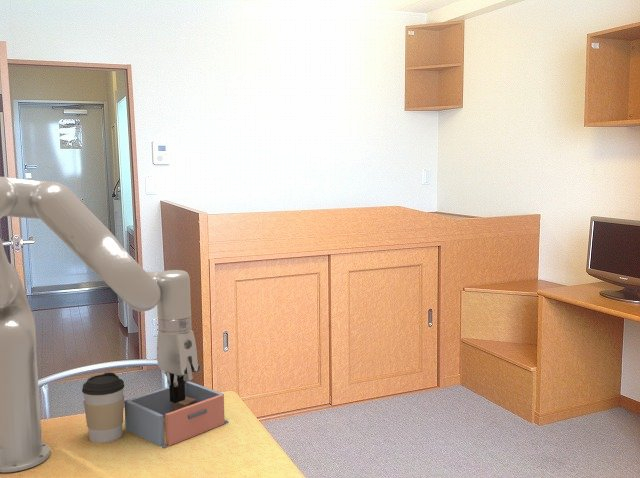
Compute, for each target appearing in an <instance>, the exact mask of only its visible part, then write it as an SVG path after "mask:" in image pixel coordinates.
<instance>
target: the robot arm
mask: <svg viewBox="0 0 640 478" xmlns="http://www.w3.org/2000/svg"><path fill="white" fill-rule="evenodd" d="M3 217H11V218H13V217H14V218H22V219H23V218H25V219H36V220H37V219H39V220H41V221H42V222H43V223H44V224H45V225H46V227H48V229H50V230H51V231H52V232H53V233H54V234H55V235H56V236H57V237H58V238H59V239H60V240H61V241H62V242H63V243H64V244H65V245H66V246H67V248H69V249H70V250H71V251H72V252H73V253H74V255H76V256H77V257H78V258H79V259H80V261H82V262H83V263H84V265H85V266H87V267H88V268H89V269H91V270H92V271H93V272H94V273H95V274H96V275H97V276H98V277H99V278H101V280H102V281H103V282H104V283H105V284H106V285H107V286H108V287H109V288H110V289H111V290H112V291H113V292H114V293H115V294H116V295H117V296H118V297H119V298H120V299H121V300H122V301H123V302H125V304H127V305H128V306H129V308H131V309H132V310H134V311H136V312H147V311H150V310H152V309H154V308H156V309H157V311H156V312H157V329H158V330H157V340H156V341H157V342H156V343H157V344H156V360H157V361H156V362H157V367H158V368H159V369H160V370H161V373H163V374H164V375H165V376H166V379H167V384H168V387H169V391H170V402H173V403H177V402H180V401H183V400H185V384H186V381H190V382H191V381H192V380H193V379H194V377H193V373H197V372H198V370H199V366H198V363H199V362H198V361H199V360H198V352H197V351H198V350H197V344H196V342H197V341H196V338H195V333H194V331H193V330H192V305H191V303H192V302H191V279H190V275H189V273H188V272H187V271H185V270H181V269H168V270H163V271H146V270H145V269H144V268H143V267H142V266H141V265H140V264H139V263H138V262H137V261H136V260H135V259H134V258H133V257H132V255H130V253H128V251H127V250H126V249H125V248H124V247H123V246H122V244H121V243H120V242H119V240H118V239H117V238H116V236H115V235H114V234H113V233H112V231H110V229H109V228H108V227H106V226H105V224H104V223H102V222H103V221H101V220H100V219H99V218H98V217H97V216H96V215H95V214H94V213H93V212H92V211H91V210H90V209H89V208H88V207H87V206H86V205H85V204H84V202H82V201H81V200H80V199H79V197H77V196H76V195H75V193H74V192H73V191H71V189H70V188H69V187H68V186H66V185H65V184H62V183H61V182H57V181H48V180H47V181H46V180H34V179H24V178H15V177H7V176H0V220H1V219H2V218H3ZM37 358H38V356H37V335H36V321H35V318H34V314H33V312H32V309H31V306H30V303H29V300H28V297H27V294H26V292H25V288H24V285H23V283H22V279H21V277H20V273H19V272H18V270H17V268H15V266H13V264H11V263H10V262H9V259H8V257H7V253H6V251H5V247H4V243H3V240H2V238H1V237H0V473H14V472H20V471H25V470H29V469H32V468H34V467H36V466H38V465H41V464H42V463H44V462H45V461H46V460H47V459H48V458H49V457H50V455H51V447H50V446H49V445H48V444H46V443H45V442H43V437H42V421H41V406H40V405H41V404H40V403H41V402H40V391H39V390H40V387H39V376H38V373H39V372H38V361H37V360H38V359H37Z"/></svg>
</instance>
